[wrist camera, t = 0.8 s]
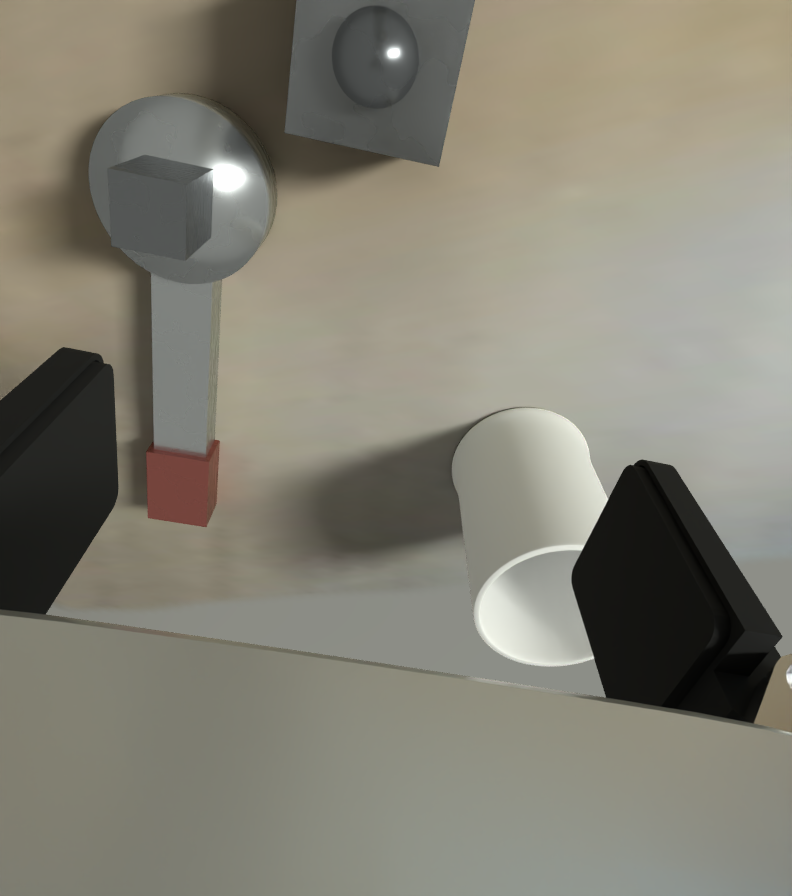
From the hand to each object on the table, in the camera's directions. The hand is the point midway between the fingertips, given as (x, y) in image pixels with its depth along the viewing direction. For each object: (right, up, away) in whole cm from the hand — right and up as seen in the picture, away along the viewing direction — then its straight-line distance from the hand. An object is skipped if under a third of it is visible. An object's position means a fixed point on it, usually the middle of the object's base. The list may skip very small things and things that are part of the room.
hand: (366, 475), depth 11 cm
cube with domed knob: (0, +18, +16) cm, 24 cm away
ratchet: (-11, +7, +23) cm, 26 cm away
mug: (+10, -1, +28) cm, 29 cm away
